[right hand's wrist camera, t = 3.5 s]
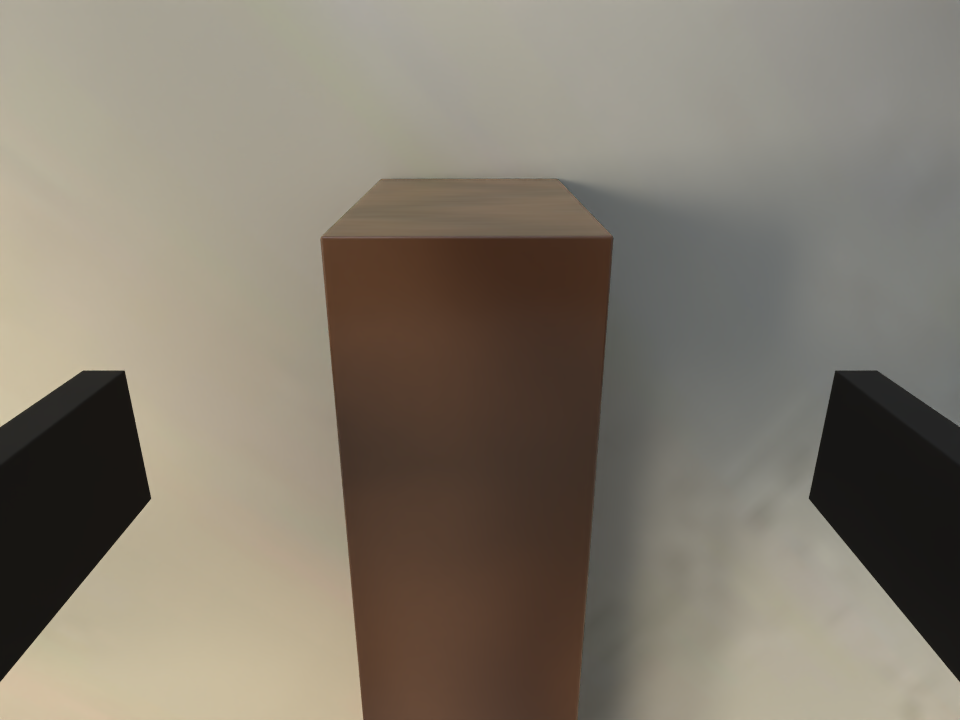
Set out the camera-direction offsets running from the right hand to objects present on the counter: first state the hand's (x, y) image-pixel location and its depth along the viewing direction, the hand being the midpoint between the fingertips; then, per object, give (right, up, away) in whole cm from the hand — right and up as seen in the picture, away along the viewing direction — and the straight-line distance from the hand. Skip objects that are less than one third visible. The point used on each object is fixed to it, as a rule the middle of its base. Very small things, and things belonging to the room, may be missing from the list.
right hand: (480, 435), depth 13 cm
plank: (0, -6, +11) cm, 13 cm away
